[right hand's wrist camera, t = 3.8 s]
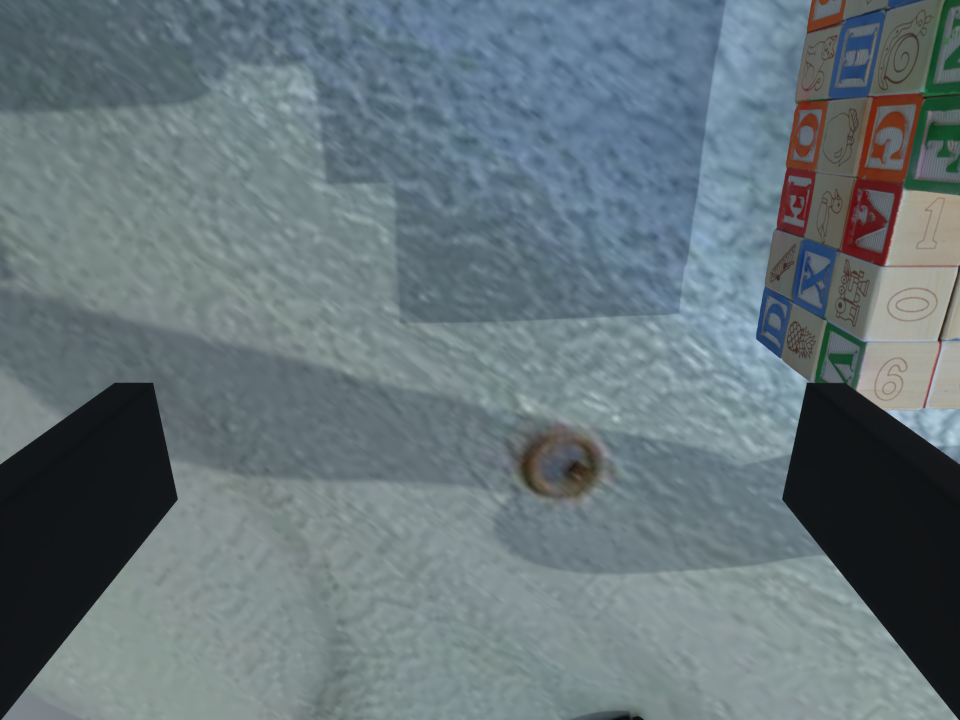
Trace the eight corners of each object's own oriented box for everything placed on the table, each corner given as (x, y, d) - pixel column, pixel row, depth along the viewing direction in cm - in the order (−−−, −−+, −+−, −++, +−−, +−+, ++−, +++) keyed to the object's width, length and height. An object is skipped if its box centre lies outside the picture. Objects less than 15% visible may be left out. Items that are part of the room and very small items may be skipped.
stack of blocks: (864, 339, 34) (1060, 449, 22) (751, 339, 34) (891, 449, 22) (977, -130, 26) (1365, -327, 15) (832, -130, 26) (1106, -328, 15)
